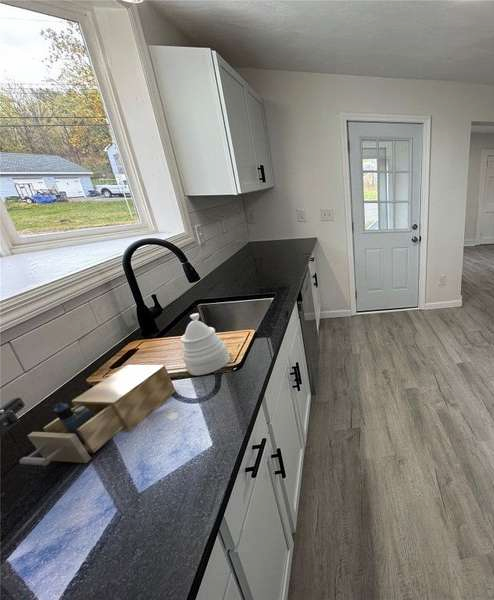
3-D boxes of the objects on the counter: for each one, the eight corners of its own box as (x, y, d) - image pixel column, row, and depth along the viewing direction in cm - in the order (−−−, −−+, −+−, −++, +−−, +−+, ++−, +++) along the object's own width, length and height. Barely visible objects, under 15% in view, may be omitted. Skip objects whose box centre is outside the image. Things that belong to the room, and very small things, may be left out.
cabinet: (130, 431, 81) (113, 402, 77) (88, 429, 83) (71, 401, 79) (176, 391, 95) (164, 365, 92) (140, 390, 97) (127, 364, 93)
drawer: (64, 481, 68) (45, 455, 65) (21, 478, 69) (1, 452, 66) (141, 416, 85) (129, 393, 82) (105, 414, 87) (92, 392, 83)
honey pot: (197, 356, 113) (179, 312, 106) (234, 350, 115) (219, 306, 108) (181, 378, 101) (160, 329, 94) (222, 371, 103) (205, 323, 96)
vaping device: (73, 445, 75) (48, 407, 71) (97, 428, 80) (74, 391, 75) (81, 447, 75) (56, 408, 70) (105, 430, 79) (82, 392, 75)
